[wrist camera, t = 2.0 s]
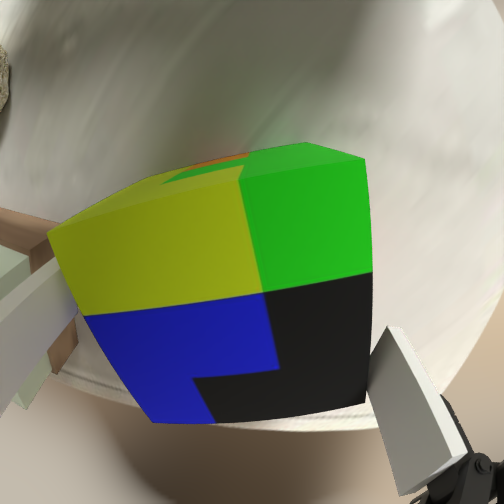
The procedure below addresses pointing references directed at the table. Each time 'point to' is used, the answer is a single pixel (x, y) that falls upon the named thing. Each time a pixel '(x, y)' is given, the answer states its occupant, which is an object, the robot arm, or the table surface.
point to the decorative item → (3, 77)
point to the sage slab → (3, 282)
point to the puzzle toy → (231, 285)
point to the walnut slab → (37, 267)
